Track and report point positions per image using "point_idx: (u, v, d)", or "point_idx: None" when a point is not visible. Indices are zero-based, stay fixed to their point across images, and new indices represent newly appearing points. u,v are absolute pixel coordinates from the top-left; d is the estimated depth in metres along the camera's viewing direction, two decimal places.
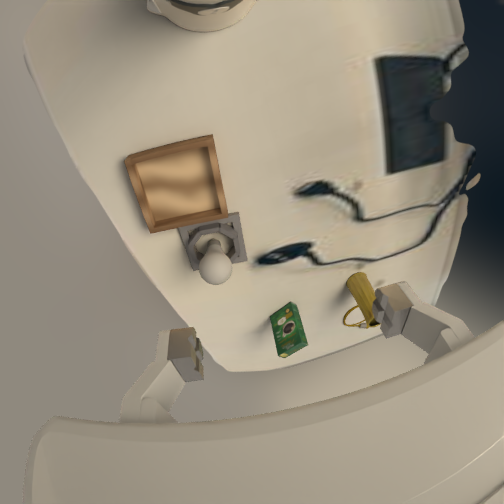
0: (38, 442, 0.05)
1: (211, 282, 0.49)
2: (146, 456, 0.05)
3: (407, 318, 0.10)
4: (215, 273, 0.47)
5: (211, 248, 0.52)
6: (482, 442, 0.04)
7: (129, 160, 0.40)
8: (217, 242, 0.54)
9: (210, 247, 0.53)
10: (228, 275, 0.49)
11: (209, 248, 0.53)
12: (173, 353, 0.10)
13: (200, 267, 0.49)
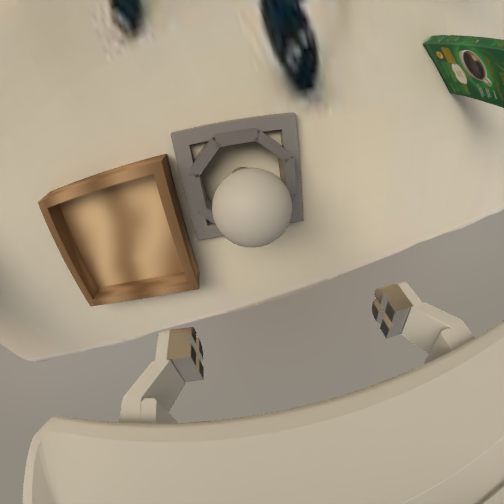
0: (38, 442, 0.05)
1: (270, 234, 0.19)
2: (146, 456, 0.05)
3: (407, 318, 0.10)
4: (239, 225, 0.19)
5: None
6: (482, 442, 0.04)
7: (88, 300, 0.30)
8: None
9: None
10: (259, 190, 0.18)
11: None
12: (173, 353, 0.10)
13: None
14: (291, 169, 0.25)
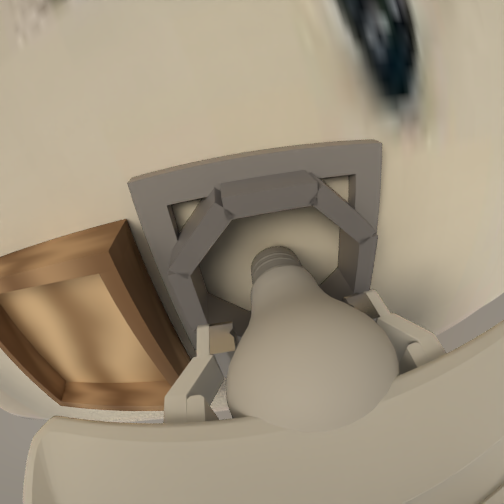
0: (38, 442, 0.05)
1: None
2: (146, 456, 0.05)
3: None
4: None
5: None
6: (482, 442, 0.04)
7: (55, 400, 0.18)
8: (256, 267, 0.13)
9: None
10: (356, 409, 0.06)
11: None
12: (216, 348, 0.10)
13: None
14: (369, 256, 0.13)
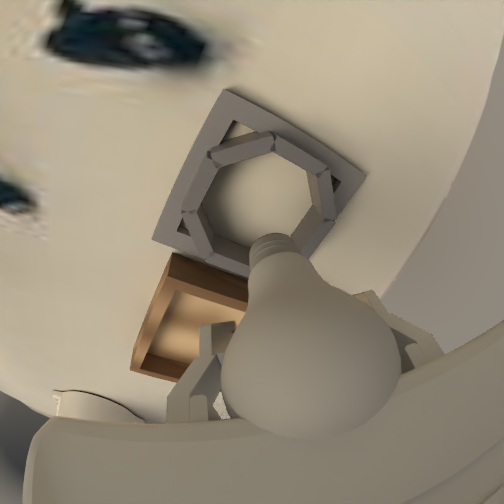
0: (38, 442, 0.05)
1: None
2: (146, 456, 0.05)
3: None
4: None
5: None
6: (482, 442, 0.04)
7: None
8: (251, 260, 0.13)
9: None
10: (330, 411, 0.05)
11: None
12: (219, 347, 0.10)
13: None
14: (290, 150, 0.16)
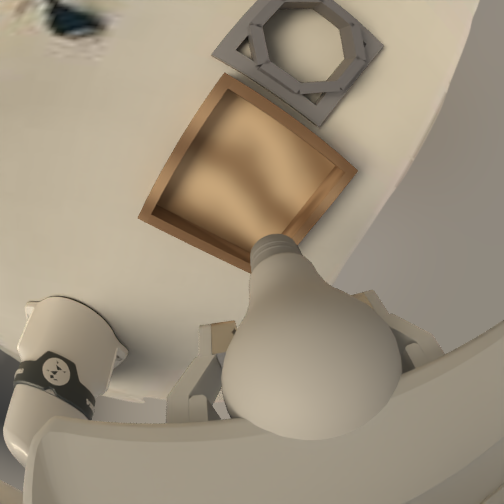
0: (38, 442, 0.05)
1: None
2: (146, 456, 0.05)
3: None
4: None
5: None
6: (482, 442, 0.04)
7: None
8: (252, 261, 0.13)
9: None
10: (331, 411, 0.05)
11: None
12: (219, 347, 0.10)
13: None
14: (333, 4, 0.15)
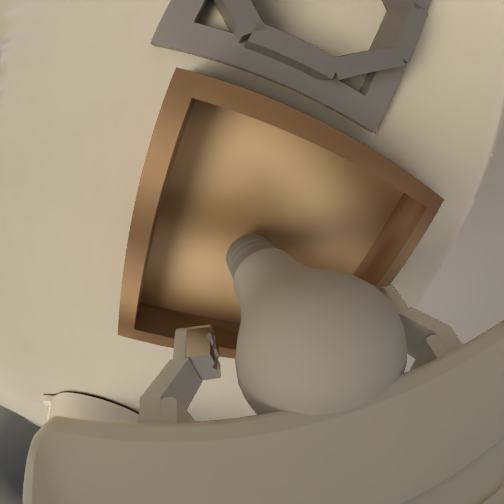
0: (38, 442, 0.05)
1: None
2: (146, 456, 0.05)
3: None
4: None
5: None
6: (482, 442, 0.04)
7: None
8: (231, 263, 0.13)
9: None
10: (362, 372, 0.06)
11: None
12: (192, 351, 0.10)
13: None
14: None
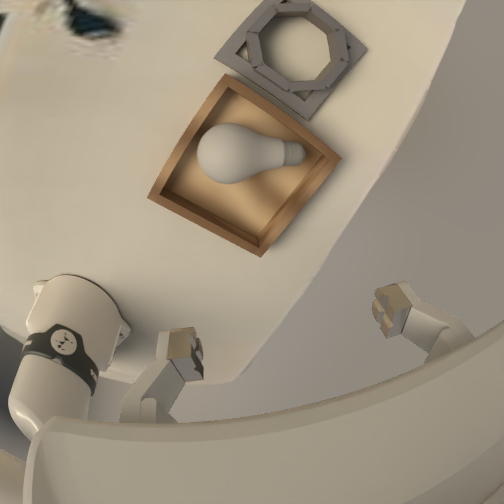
0: (38, 442, 0.05)
1: (201, 156, 0.24)
2: (146, 456, 0.05)
3: (407, 318, 0.10)
4: None
5: None
6: (482, 442, 0.04)
7: (255, 253, 0.33)
8: None
9: None
10: None
11: None
12: (174, 353, 0.10)
13: (221, 182, 0.26)
14: (320, 12, 0.18)
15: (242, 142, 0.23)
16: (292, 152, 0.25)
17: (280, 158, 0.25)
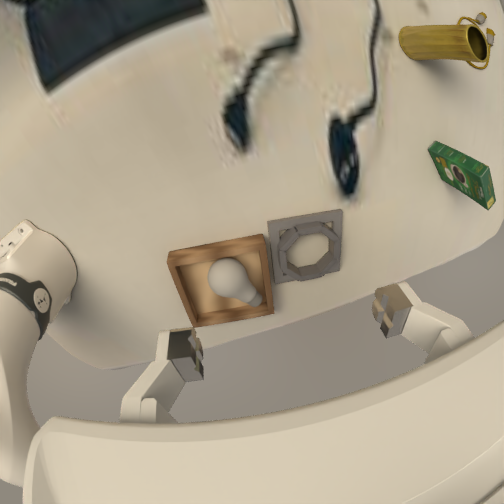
0: (38, 442, 0.05)
1: (215, 272, 0.40)
2: (146, 456, 0.05)
3: (407, 318, 0.10)
4: (210, 267, 0.42)
5: None
6: (482, 442, 0.04)
7: (192, 324, 0.48)
8: None
9: None
10: None
11: None
12: (173, 353, 0.10)
13: None
14: (337, 246, 0.43)
15: (240, 284, 0.40)
16: (255, 300, 0.44)
17: (247, 300, 0.43)
